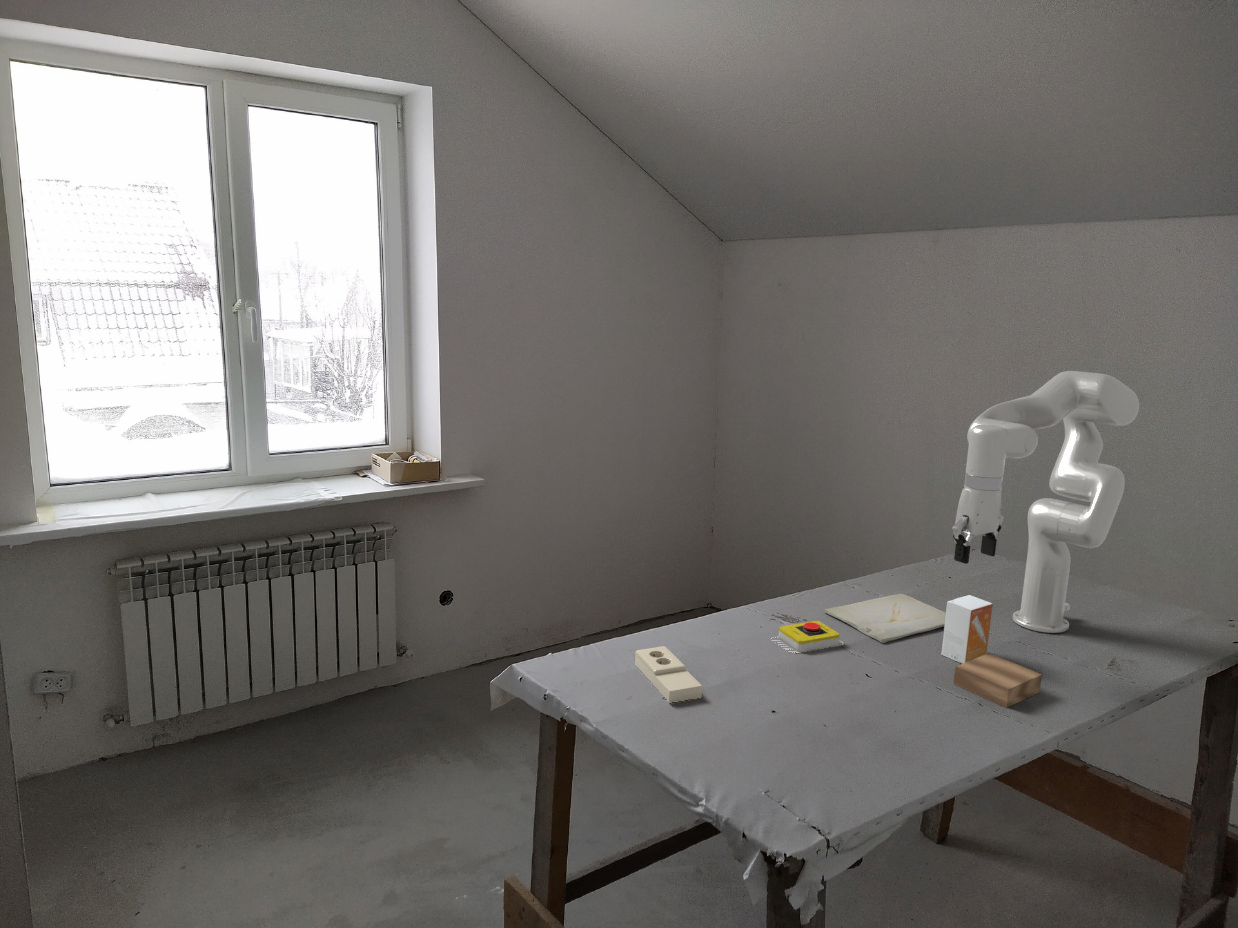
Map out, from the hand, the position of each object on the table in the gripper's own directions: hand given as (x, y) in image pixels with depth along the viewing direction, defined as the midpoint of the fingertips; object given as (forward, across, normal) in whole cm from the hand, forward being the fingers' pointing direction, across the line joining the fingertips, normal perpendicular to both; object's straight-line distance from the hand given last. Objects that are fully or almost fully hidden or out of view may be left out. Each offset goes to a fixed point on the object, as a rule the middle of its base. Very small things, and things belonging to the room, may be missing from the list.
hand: (974, 558), depth 189 cm
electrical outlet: (+24, +64, -27) cm, 73 cm away
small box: (+24, 0, 0) cm, 24 cm away
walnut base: (+23, +8, +13) cm, 28 cm away
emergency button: (+24, +24, -25) cm, 42 cm away
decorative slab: (+24, -4, -23) cm, 34 cm away
